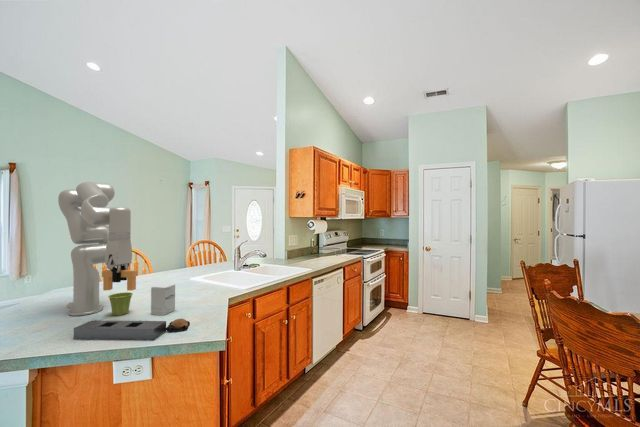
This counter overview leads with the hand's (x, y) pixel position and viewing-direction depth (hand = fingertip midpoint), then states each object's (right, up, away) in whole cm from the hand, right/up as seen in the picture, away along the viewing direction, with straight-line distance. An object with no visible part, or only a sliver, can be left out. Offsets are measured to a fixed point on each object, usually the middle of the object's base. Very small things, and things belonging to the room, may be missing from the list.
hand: (119, 280), depth 120 cm
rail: (+8, -18, -11) cm, 23 cm away
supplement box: (+10, -19, +15) cm, 26 cm away
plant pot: (-9, -19, +14) cm, 25 cm away
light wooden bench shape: (0, -4, 0) cm, 4 cm away
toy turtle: (+26, -19, -3) cm, 32 cm away
